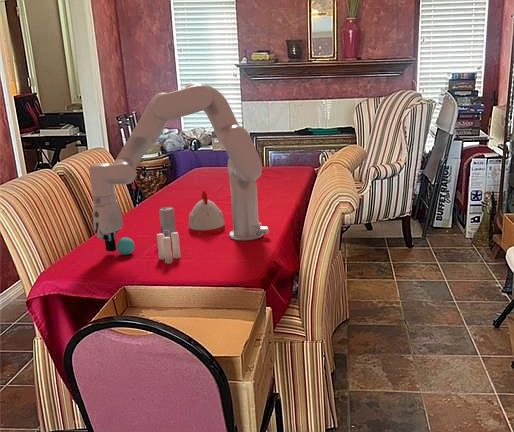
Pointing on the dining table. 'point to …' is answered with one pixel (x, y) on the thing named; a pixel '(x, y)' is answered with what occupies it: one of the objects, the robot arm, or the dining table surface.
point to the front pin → (160, 246)
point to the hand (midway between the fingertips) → (111, 250)
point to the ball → (125, 246)
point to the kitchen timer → (205, 217)
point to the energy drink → (167, 221)
